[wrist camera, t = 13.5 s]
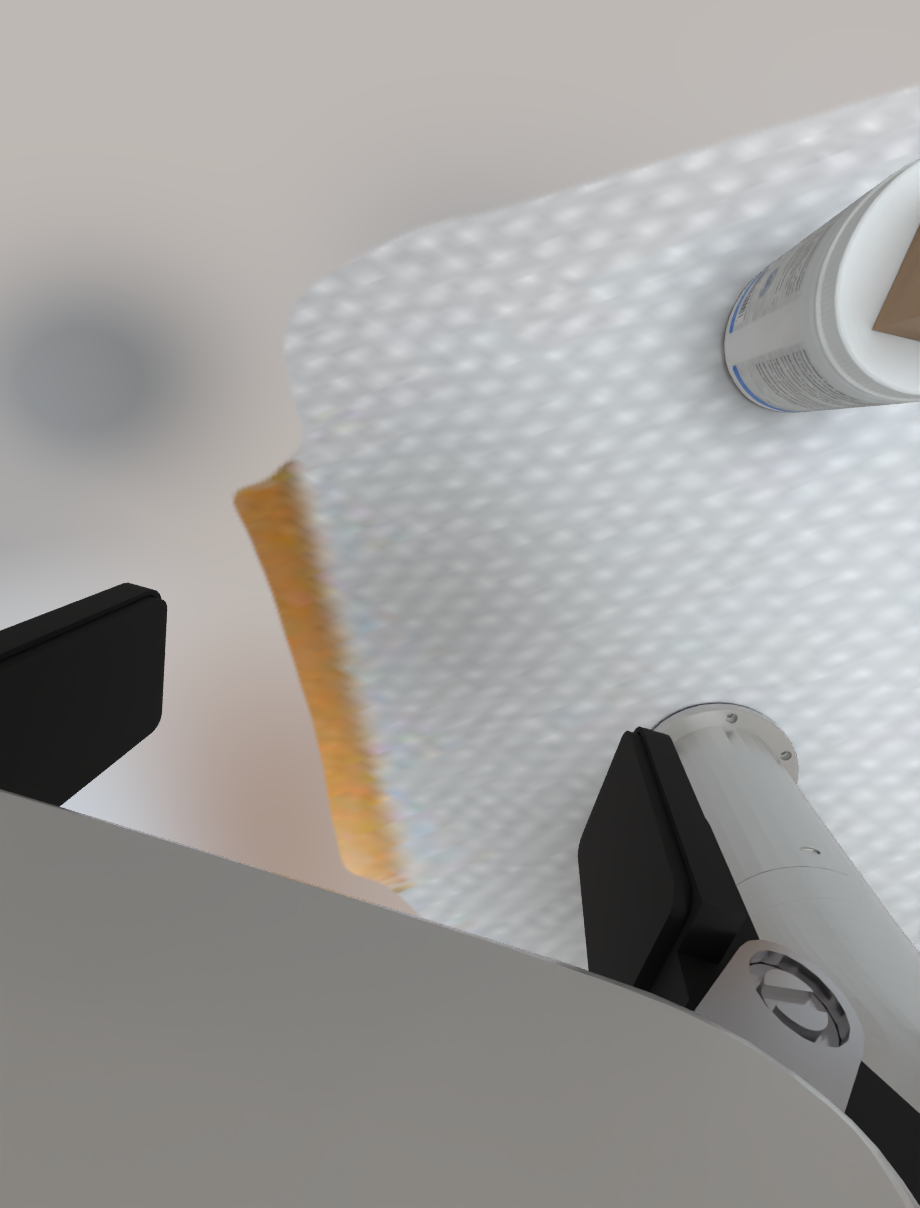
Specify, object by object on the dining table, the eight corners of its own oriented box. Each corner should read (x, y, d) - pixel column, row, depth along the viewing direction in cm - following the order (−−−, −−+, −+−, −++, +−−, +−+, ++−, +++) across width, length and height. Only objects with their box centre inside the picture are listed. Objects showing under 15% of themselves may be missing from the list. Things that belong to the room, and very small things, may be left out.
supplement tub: (885, 384, 35) (1112, 357, 21) (733, 432, 37) (850, 437, 23) (868, 221, 33) (1112, 72, 19) (706, 283, 35) (818, 190, 21)
